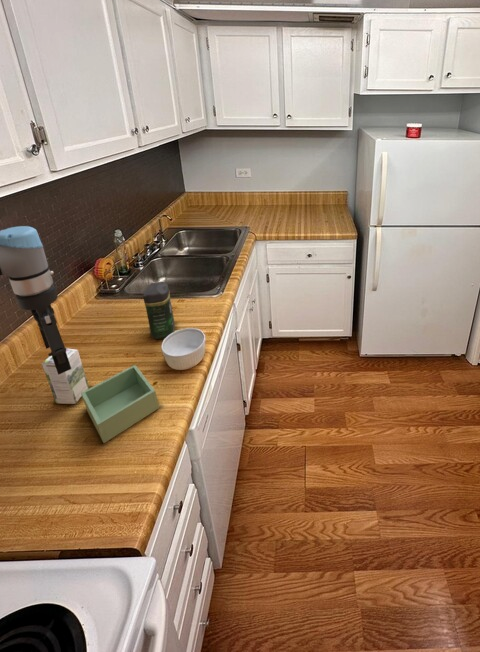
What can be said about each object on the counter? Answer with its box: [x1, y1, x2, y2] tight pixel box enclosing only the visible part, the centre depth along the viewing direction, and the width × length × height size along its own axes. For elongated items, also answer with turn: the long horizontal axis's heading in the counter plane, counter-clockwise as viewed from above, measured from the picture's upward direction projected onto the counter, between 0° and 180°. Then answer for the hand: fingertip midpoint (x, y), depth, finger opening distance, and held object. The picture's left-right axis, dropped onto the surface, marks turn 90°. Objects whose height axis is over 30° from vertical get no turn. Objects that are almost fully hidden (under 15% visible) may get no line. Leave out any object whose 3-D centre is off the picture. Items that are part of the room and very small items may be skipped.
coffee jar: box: [142, 281, 176, 340], centre depth 116 cm, size 10×8×19 cm
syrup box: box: [41, 348, 90, 405], centre depth 91 cm, size 6×6×14 cm
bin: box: [81, 364, 160, 444], centre depth 89 cm, size 14×14×6 cm
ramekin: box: [160, 327, 207, 371], centre depth 106 cm, size 13×13×7 cm
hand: (58, 357), depth 88 cm, fingers open, 13 cm apart
